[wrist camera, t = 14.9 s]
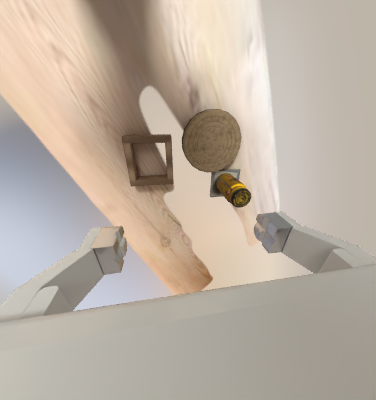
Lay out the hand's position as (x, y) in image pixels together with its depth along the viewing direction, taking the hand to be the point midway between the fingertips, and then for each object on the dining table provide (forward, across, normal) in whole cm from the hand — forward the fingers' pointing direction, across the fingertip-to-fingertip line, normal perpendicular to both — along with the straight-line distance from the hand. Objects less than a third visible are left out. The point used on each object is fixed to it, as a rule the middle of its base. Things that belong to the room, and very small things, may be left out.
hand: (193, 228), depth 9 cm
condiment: (+37, -17, +13) cm, 43 cm away
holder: (+37, +5, +4) cm, 38 cm away
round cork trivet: (+38, -12, 0) cm, 39 cm away
